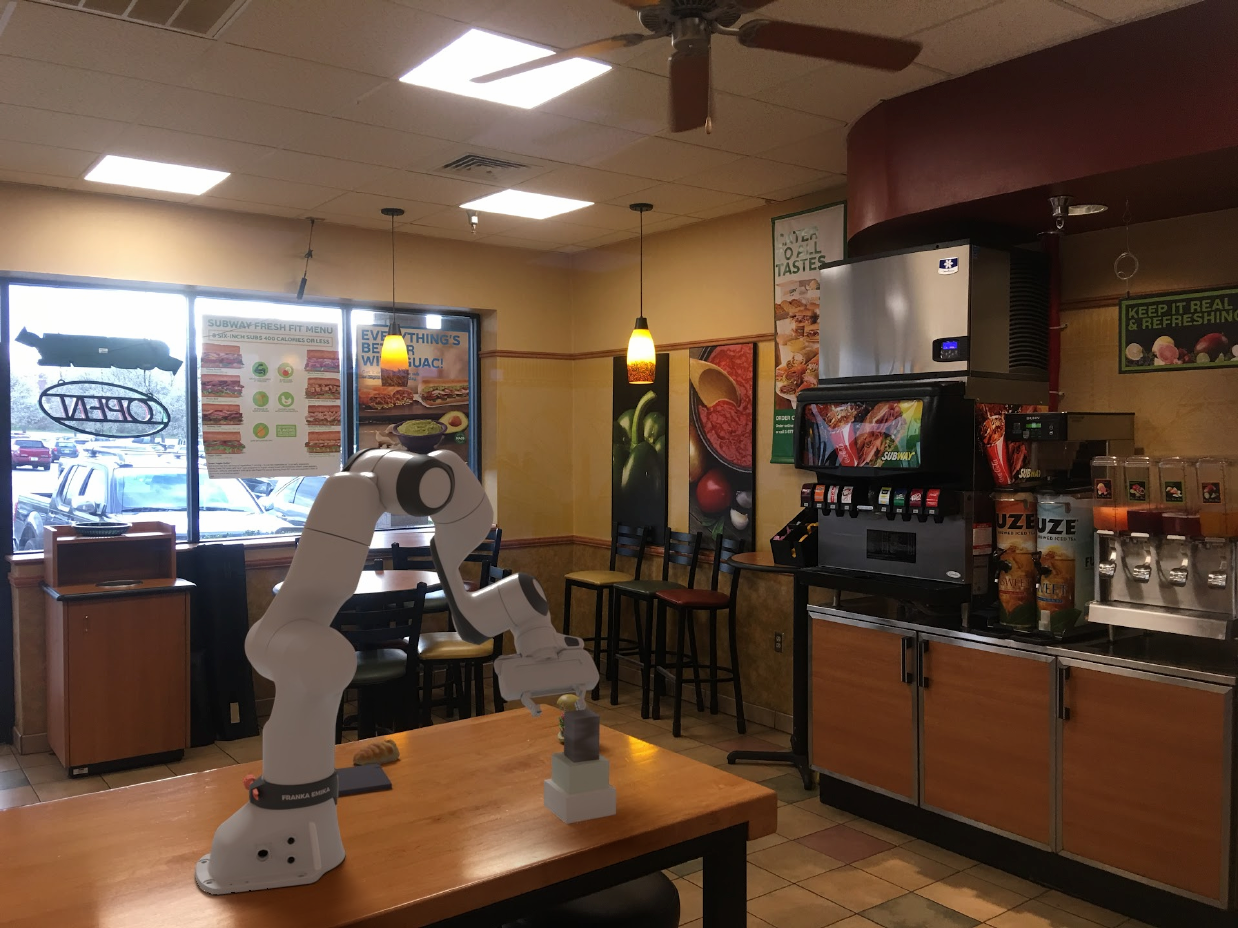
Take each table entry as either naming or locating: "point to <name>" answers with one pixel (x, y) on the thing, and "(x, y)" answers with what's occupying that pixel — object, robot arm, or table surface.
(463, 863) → the table surface
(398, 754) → the pastry
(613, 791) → the tower base
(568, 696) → the hamburger
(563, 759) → the tower top
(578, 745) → the charcoal block
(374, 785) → the notebook
